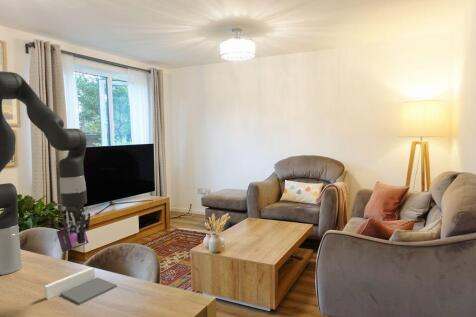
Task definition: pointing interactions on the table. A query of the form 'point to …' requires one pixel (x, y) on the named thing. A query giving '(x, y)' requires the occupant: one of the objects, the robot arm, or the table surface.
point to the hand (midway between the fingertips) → (77, 241)
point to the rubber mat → (88, 290)
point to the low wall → (69, 282)
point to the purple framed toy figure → (69, 239)
